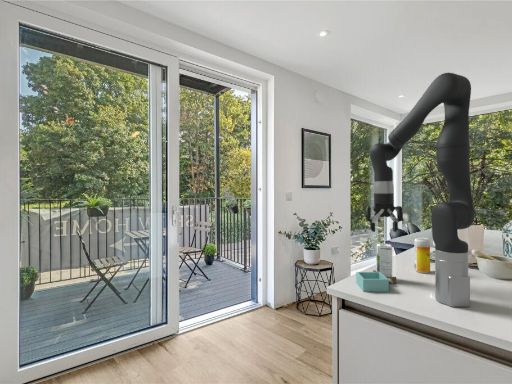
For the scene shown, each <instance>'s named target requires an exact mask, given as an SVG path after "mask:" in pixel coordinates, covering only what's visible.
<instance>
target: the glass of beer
mask: <svg viewBox="0 0 512 384" xmlns="http://www.w3.org/2000/svg"><path fill="white" fill-rule="evenodd" d="M414 238H415V239H414V241H413V242H414V243H413V245H414V251H413V252H414V253H413V254H414V255H413V257H414V259H413V260H414V264H413V265H414V271H415V272H416V273H419V274H426V275H427V274H429V273H430V272H431V241H430V238H429V237H421V236H419V237H418V236H417V237H414Z"/></svg>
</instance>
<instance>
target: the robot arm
mask: <svg viewBox="0 0 512 384" xmlns="http://www.w3.org/2000/svg"><path fill="white" fill-rule="evenodd" d="M471 95H472V85H471V82H470V80H469V79H468V77H466V76H464V75H460V74H457V73H455V72H443V73H441V74H440V75H438V76H437V77H435V79H433V81H432V82H431V83H430V84H429V86H428V87H427V89H425V91H424V92H423V94H422V95H421V97H420V98H419V100H418V101H416V103H415V104H414V106H413V108H412V109H411V110H410V112H409V113H408V114H407V115H406V116H405V117H404V118H403V119H402V121H400V122H399V124H398V125H397V126H396V127H394V128H393V130H392V131H391V132H390V133H389V134H388V135H387V136H388V137H387V138H388V142H387V143H379V142H378V143H375V144H374V145H372V146H371V148H370V151H369V158H370V162H371V166H372V168H373V172H374V174H373V177H374V178H373V180H374V183H373V206H366V207H365V217H364V218H365V221H366V222H368V223H369V228H370V231H371V232H372V233H375V232H376V223H375V222H376V221H377V220H378V219H379V218H390V219H391V221H392V232H395V233H396V232H397V231H398V230H399V222H403V221H404V214H403V206H401V205H398V206H395V205H394V204H395V198H394V197H395V196H394V195H395V194H394V193H395V192H394V191H395V190H394V187H395V185H394V171H393V168H392V167H391V166H388V164H387V162H389V161H392V160H395V158H396V157H398V154H400V152H401V151H402V149H403V147H404V146H405V144H407V143H408V142H409V141H411V139H412V138H413V137H414V136H416V135H417V134H418V132H419V131H420V130H421V128H422V126H423V125H424V121H425V120H426V119H427V117H428V116H429V114H430V113H432V112H433V111H434V110H435V109H436V108H437V107H438V106H440V105H441V104H443V108H444V109H443V110H444V122H443V126H442V128H441V130H440V132H439V135H438V138H437V140H436V146H435V154H436V157H435V158H436V160H435V161H436V164H437V168H438V169H439V171H440V174H441V175H442V177H443V178H444V180H445V182H446V185H447V187H448V195H449V200H448V201H446V202H445V201H444V202H443V201H442V202H438V203H436V204H435V205H434V206H433V208H432V209H431V210H432V211H431V215H430V220H431V221H430V224H431V225H430V226H431V236H432V241H433V243H434V280H435V281H434V288H435V290H434V294H435V296H434V297H435V300H436V301H437V302H439V303H440V304H443V305H446V306H448V307H452V308H453V307H455V308H456V307H458V308H459V307H462V308H463V307H464V308H465V307H466V308H469V307H471V278H470V277H469V244H468V242H467V241H464V240H461V239H460V237H459V233H458V232H459V231H458V230H465V229H469V228H470V227H471V226H472V225H473V222H474V220H475V207H474V201H473V194H472V186H471V185H472V184H471V169H470V168H471V166H470V165H471V163H470V159H471V158H470V157H471V149H470V148H471V147H470V146H471V145H470V124H469V123H470V122H469V121H470V120H469V119H470V118H469V115H470V105H471ZM372 212H374V213H373V215H372V217H371V213H372ZM394 212H396V214H397V215H395V214H394Z"/></svg>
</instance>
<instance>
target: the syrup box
mask: <svg viewBox="0 0 512 384" xmlns="http://www.w3.org/2000/svg"><path fill="white" fill-rule="evenodd" d="M375 261H376V264H375V265H376V272H380V273H381V274H383V275H384V276H385V277H393V246H392V244H389V243H377V244H376V260H375Z"/></svg>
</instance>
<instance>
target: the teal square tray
mask: <svg viewBox="0 0 512 384" xmlns="http://www.w3.org/2000/svg"><path fill="white" fill-rule="evenodd" d="M355 283H356V285H357V286H358V287H359V288H360V290H361V291H362V292H365V293H366V292H368V293H370V292H371V291H372V292H373V293H374V292H378V293H379V292H381V293H382V292H387V293H388V292H389V291H390V288H389V287H390V283H389V279H388V278H386V277H385V276H384V275H383V274H381V273H380V272H373V271H356V272H355Z"/></svg>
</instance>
